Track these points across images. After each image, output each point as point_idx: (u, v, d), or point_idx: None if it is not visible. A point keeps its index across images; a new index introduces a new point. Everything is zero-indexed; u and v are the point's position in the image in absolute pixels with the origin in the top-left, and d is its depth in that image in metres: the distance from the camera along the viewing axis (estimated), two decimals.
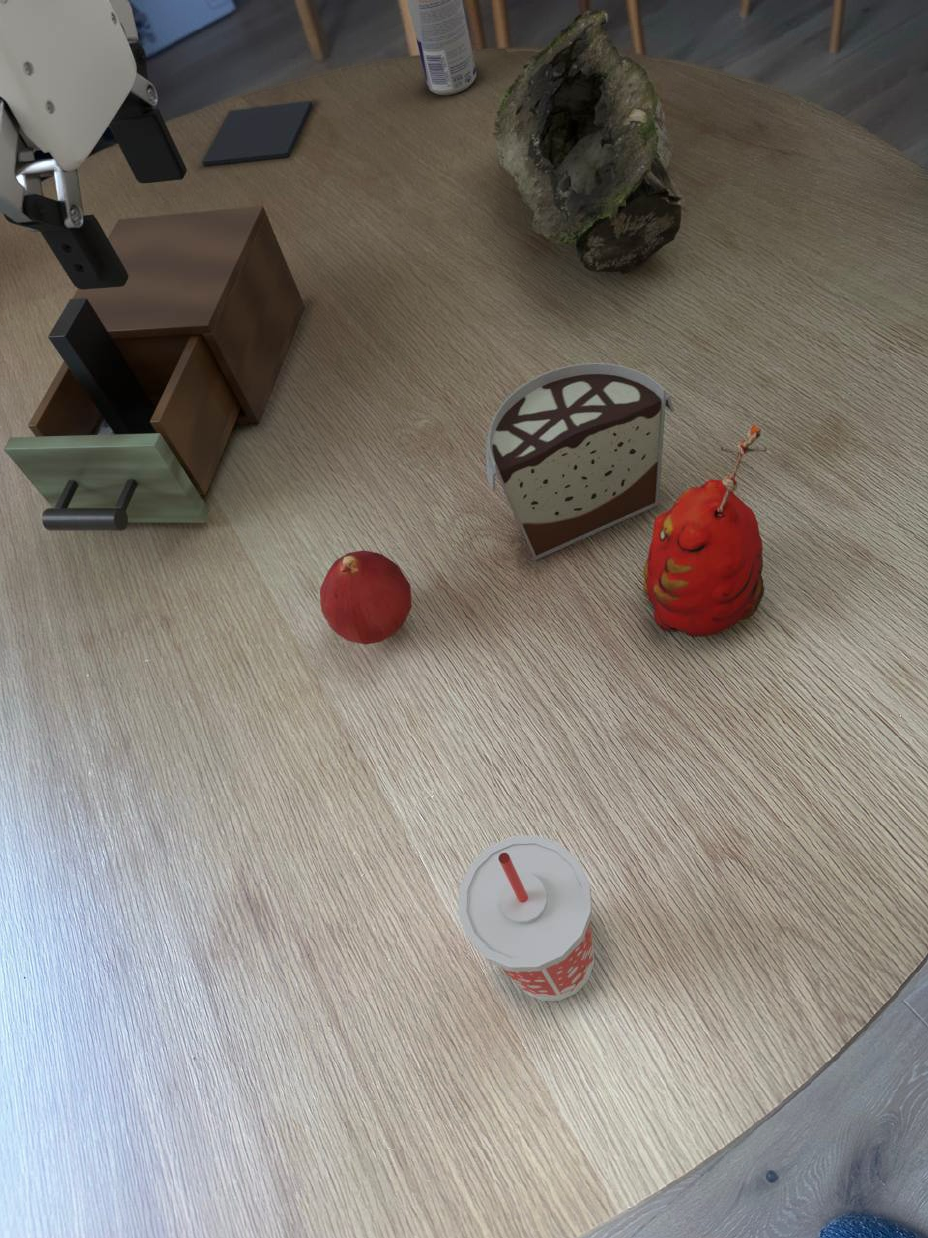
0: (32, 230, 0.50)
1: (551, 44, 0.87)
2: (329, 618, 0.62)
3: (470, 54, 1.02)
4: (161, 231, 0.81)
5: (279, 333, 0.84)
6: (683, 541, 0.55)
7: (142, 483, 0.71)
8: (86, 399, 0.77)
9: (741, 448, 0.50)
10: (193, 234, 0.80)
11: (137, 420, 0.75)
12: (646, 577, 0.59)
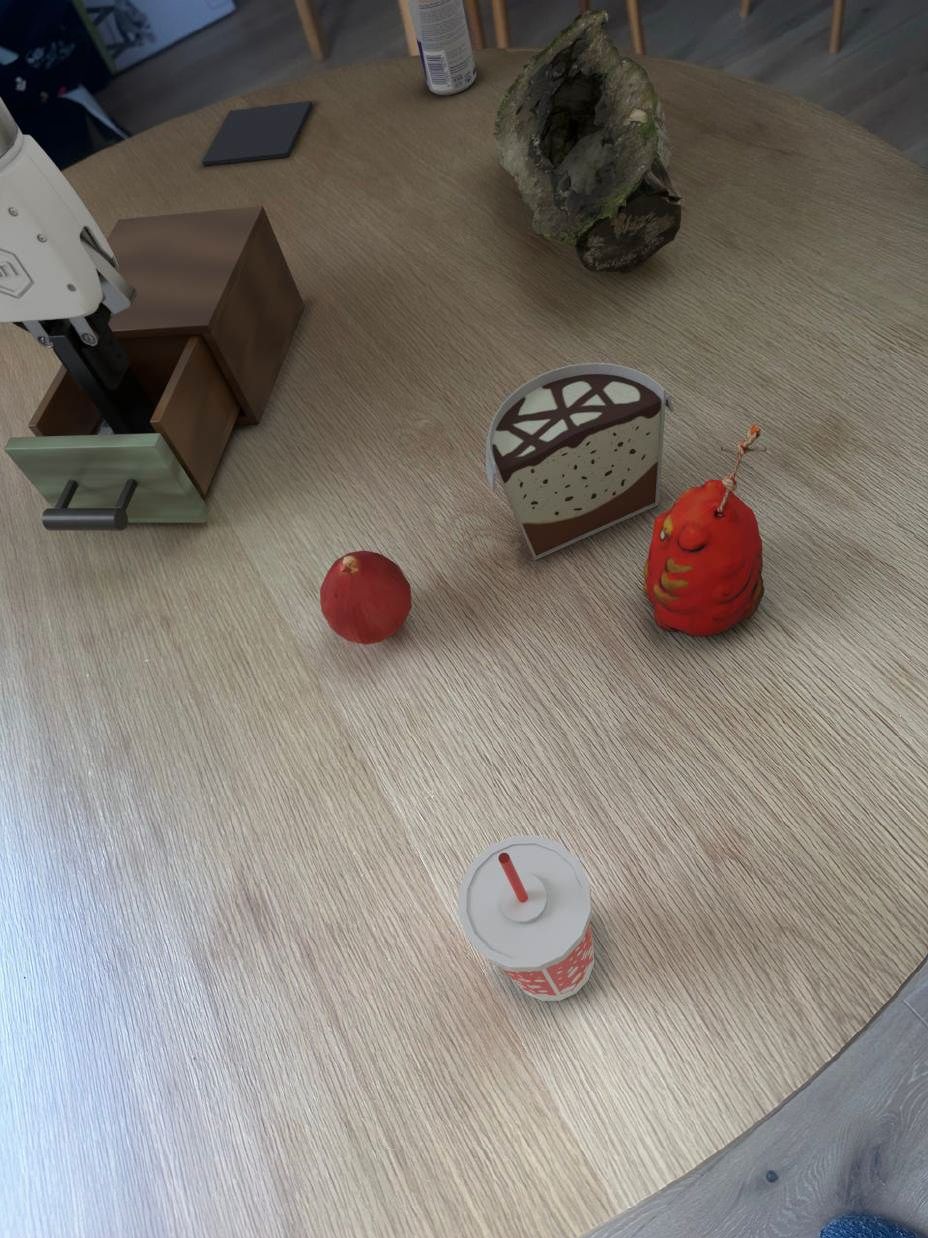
0: None
1: (551, 44, 0.87)
2: (329, 618, 0.62)
3: (470, 54, 1.02)
4: (161, 231, 0.81)
5: (279, 333, 0.84)
6: (682, 541, 0.55)
7: (142, 483, 0.71)
8: (86, 399, 0.77)
9: (741, 448, 0.50)
10: (193, 234, 0.80)
11: (137, 420, 0.75)
12: (646, 577, 0.59)
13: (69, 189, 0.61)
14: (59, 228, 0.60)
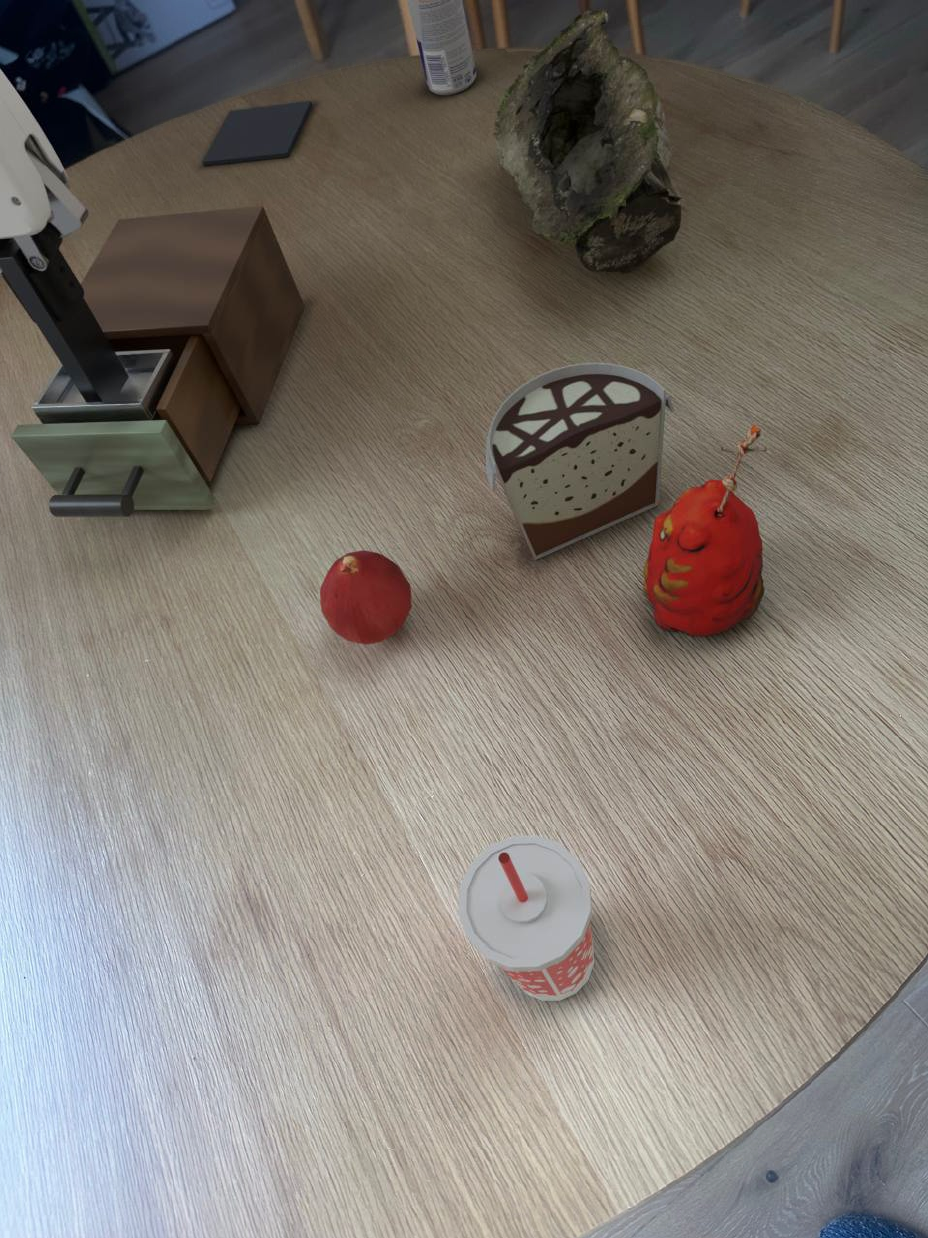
0: None
1: (551, 44, 0.87)
2: (329, 618, 0.62)
3: (470, 54, 1.02)
4: (161, 231, 0.81)
5: (279, 333, 0.84)
6: (683, 541, 0.55)
7: (148, 470, 0.72)
8: None
9: (741, 448, 0.50)
10: (193, 234, 0.80)
11: (93, 362, 0.70)
12: (646, 577, 0.59)
13: (13, 91, 0.56)
14: (1, 133, 0.55)
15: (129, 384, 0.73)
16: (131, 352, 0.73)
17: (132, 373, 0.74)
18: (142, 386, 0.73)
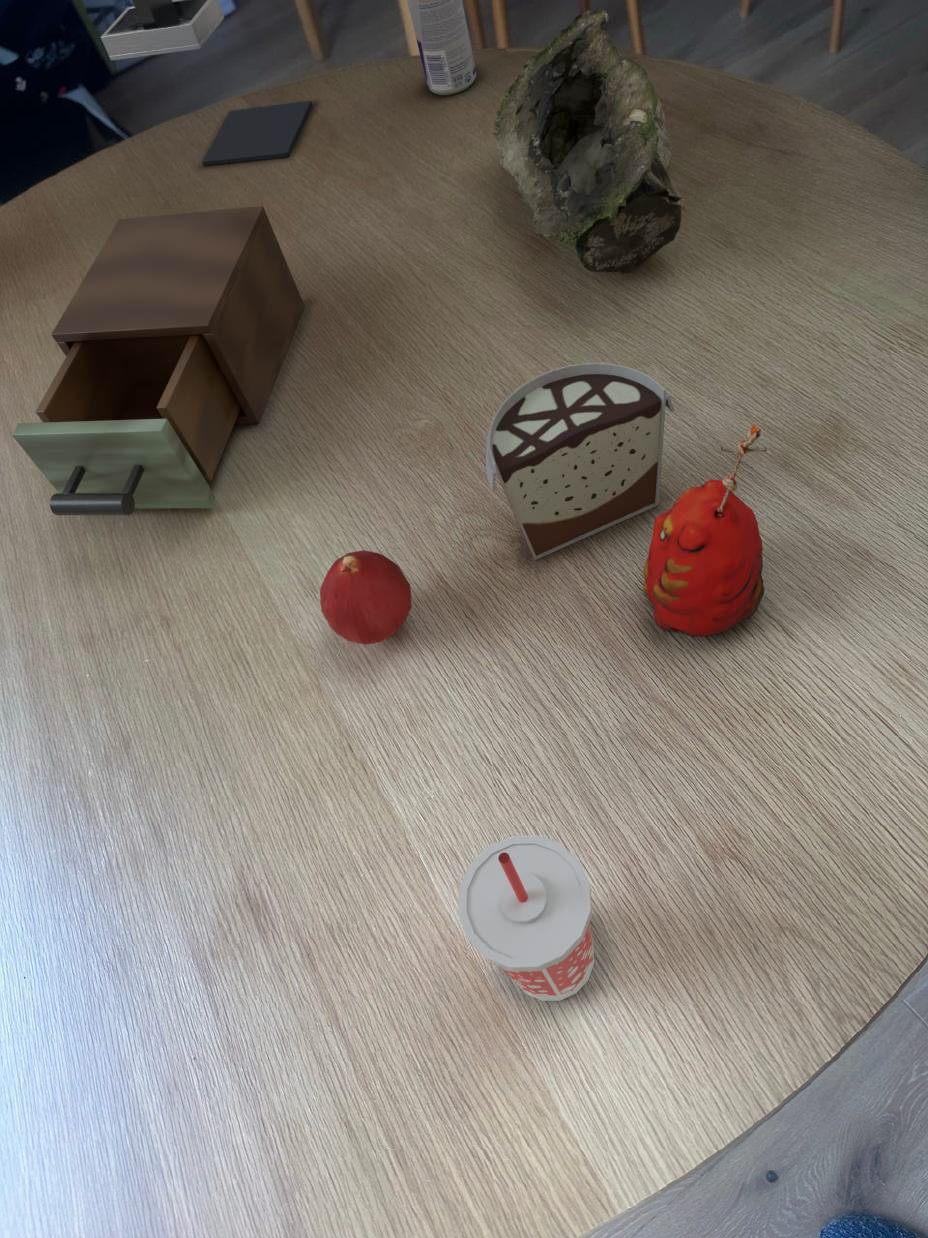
0: None
1: (551, 44, 0.87)
2: (329, 618, 0.62)
3: (470, 54, 1.02)
4: (161, 231, 0.81)
5: (279, 333, 0.84)
6: (683, 541, 0.55)
7: (149, 468, 0.72)
8: (92, 387, 0.78)
9: (741, 448, 0.50)
10: (193, 234, 0.80)
11: None
12: (646, 577, 0.59)
13: None
14: None
15: None
16: None
17: (183, 20, 0.88)
18: None
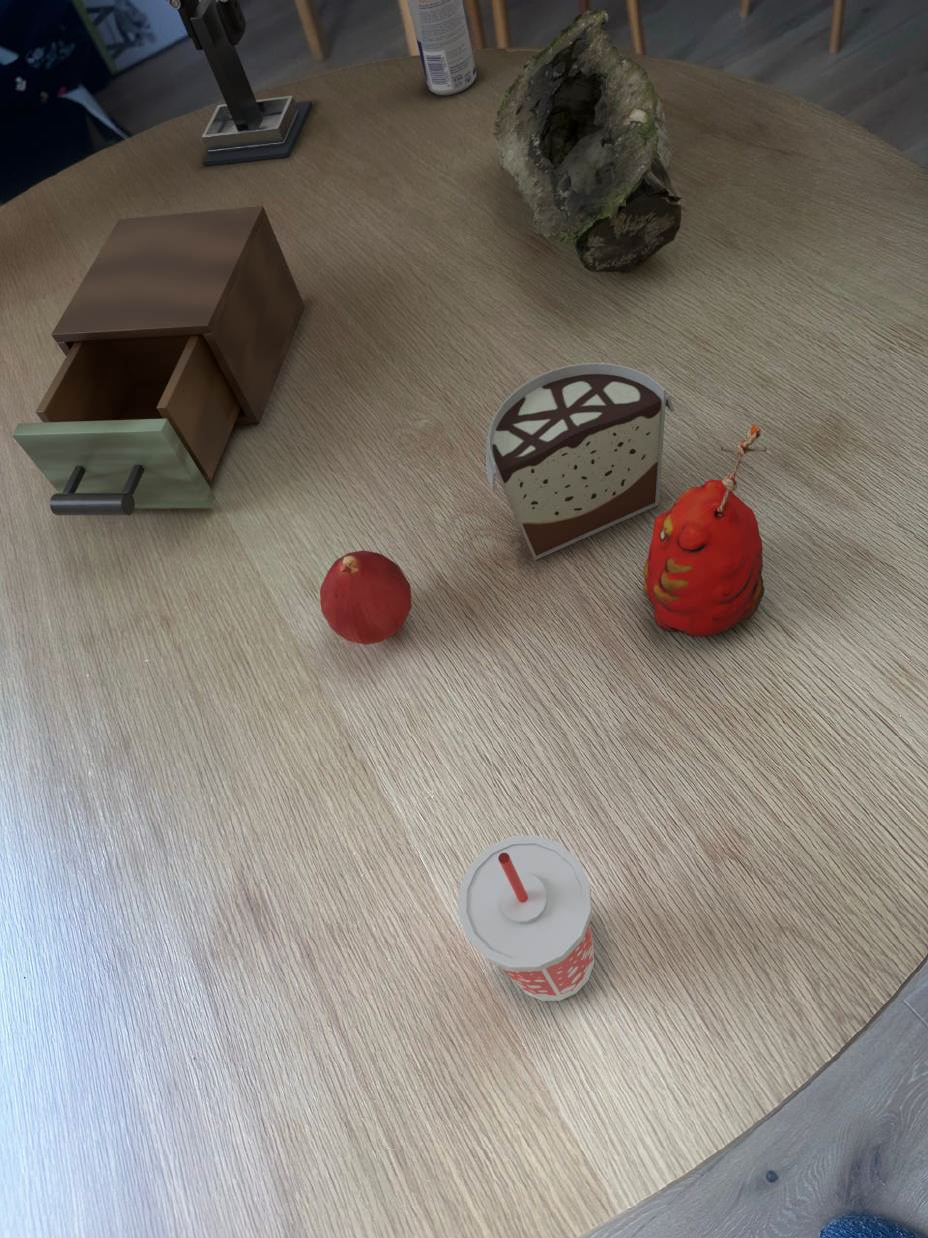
0: None
1: (551, 44, 0.87)
2: (329, 618, 0.62)
3: (470, 54, 1.02)
4: (161, 231, 0.81)
5: (279, 333, 0.84)
6: (683, 541, 0.55)
7: (149, 468, 0.72)
8: (92, 387, 0.78)
9: (741, 448, 0.50)
10: (193, 234, 0.80)
11: (244, 101, 1.04)
12: (646, 577, 0.59)
13: None
14: None
15: (264, 122, 1.07)
16: (265, 99, 1.07)
17: (265, 116, 1.08)
18: (274, 122, 1.07)
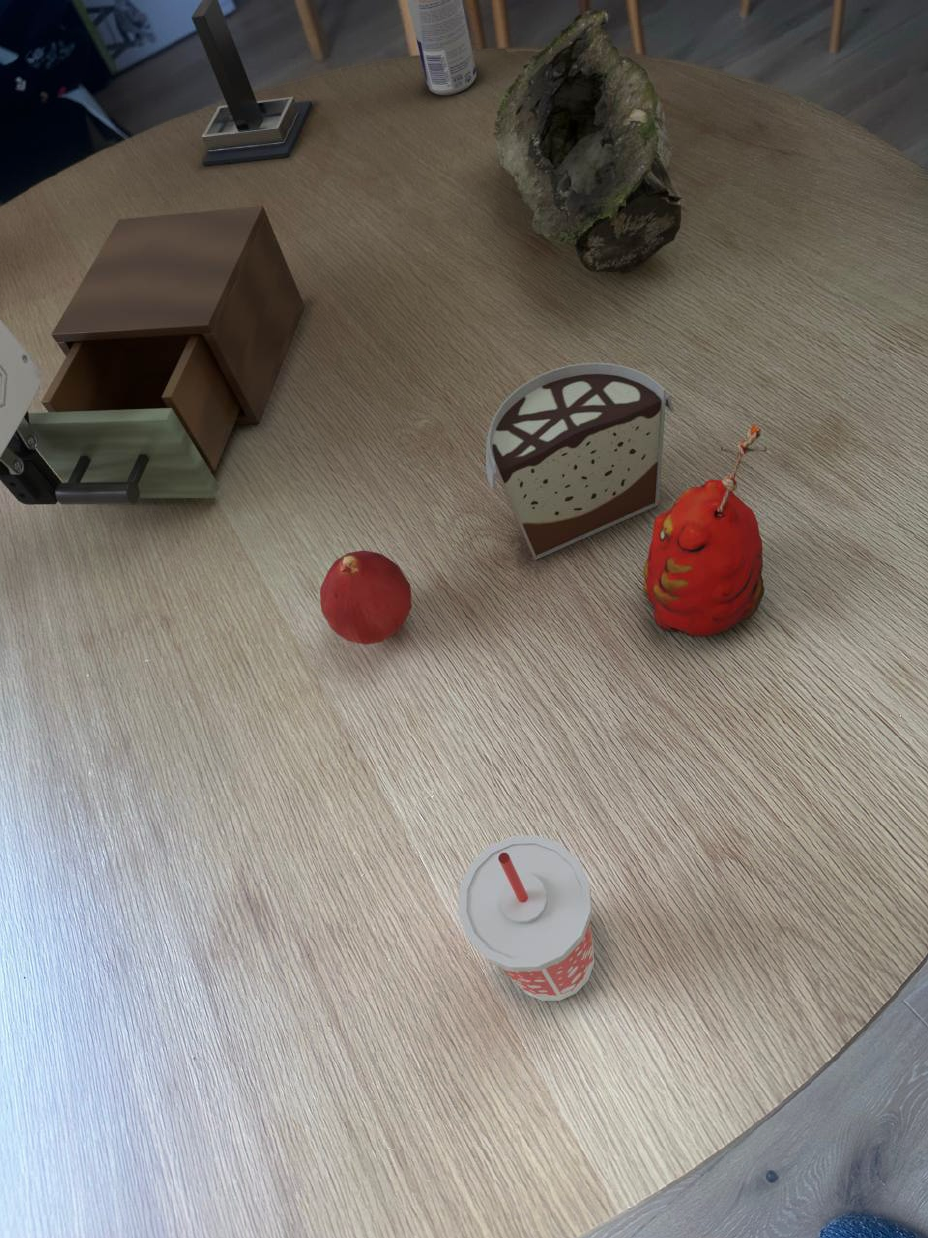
0: (35, 445, 0.71)
1: (551, 44, 0.87)
2: (329, 618, 0.62)
3: (470, 54, 1.02)
4: (161, 231, 0.81)
5: (279, 333, 0.84)
6: (683, 541, 0.55)
7: (153, 458, 0.73)
8: (97, 378, 0.79)
9: (741, 448, 0.50)
10: (193, 234, 0.80)
11: (245, 101, 1.04)
12: (646, 577, 0.59)
13: None
14: None
15: (264, 123, 1.07)
16: (266, 100, 1.07)
17: (266, 117, 1.08)
18: (274, 123, 1.07)
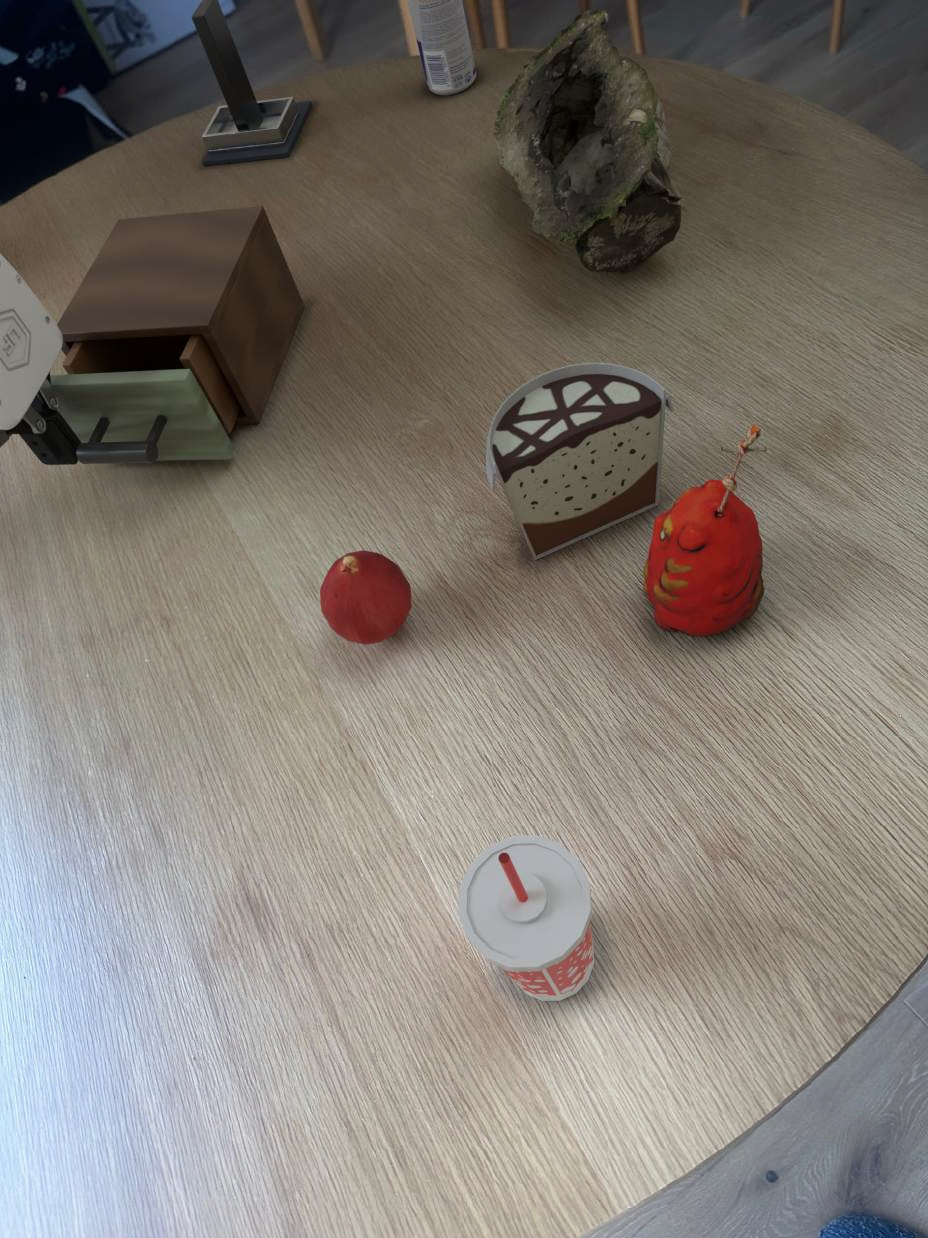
0: (56, 406, 0.73)
1: (551, 44, 0.87)
2: (329, 618, 0.62)
3: (470, 54, 1.02)
4: (161, 231, 0.81)
5: (279, 333, 0.84)
6: (683, 541, 0.55)
7: (171, 419, 0.75)
8: (115, 344, 0.81)
9: (741, 448, 0.50)
10: (193, 234, 0.80)
11: (245, 101, 1.04)
12: (646, 577, 0.59)
13: None
14: None
15: (264, 123, 1.07)
16: (266, 100, 1.07)
17: (266, 117, 1.08)
18: (274, 123, 1.07)
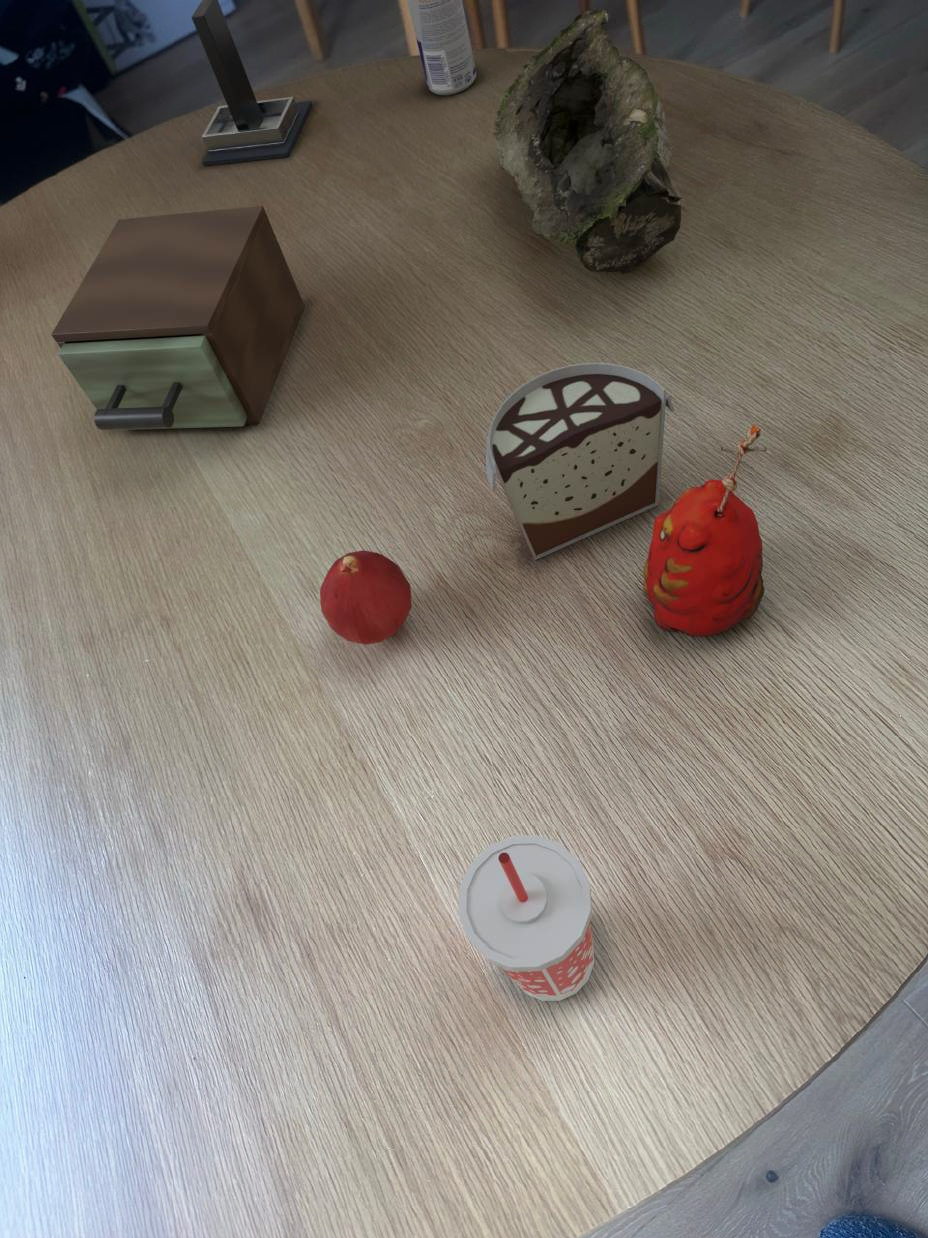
0: None
1: (551, 44, 0.87)
2: (329, 618, 0.62)
3: (470, 54, 1.02)
4: (161, 231, 0.81)
5: (279, 333, 0.84)
6: (683, 541, 0.55)
7: (186, 386, 0.77)
8: None
9: (741, 448, 0.50)
10: (193, 234, 0.80)
11: (245, 101, 1.04)
12: (646, 577, 0.59)
13: None
14: None
15: (264, 123, 1.07)
16: (266, 100, 1.07)
17: (266, 117, 1.08)
18: (274, 123, 1.07)
